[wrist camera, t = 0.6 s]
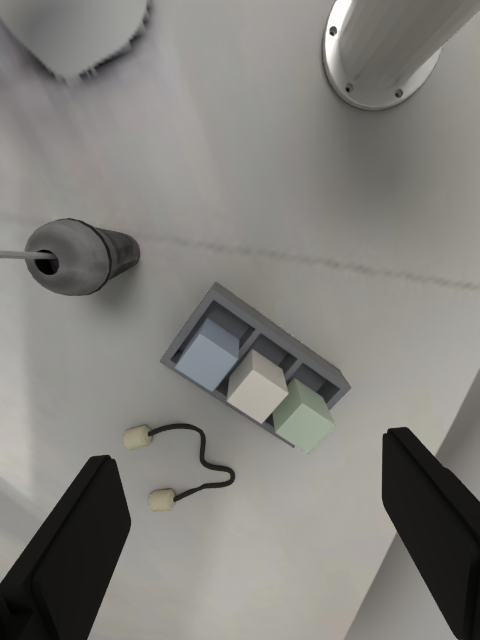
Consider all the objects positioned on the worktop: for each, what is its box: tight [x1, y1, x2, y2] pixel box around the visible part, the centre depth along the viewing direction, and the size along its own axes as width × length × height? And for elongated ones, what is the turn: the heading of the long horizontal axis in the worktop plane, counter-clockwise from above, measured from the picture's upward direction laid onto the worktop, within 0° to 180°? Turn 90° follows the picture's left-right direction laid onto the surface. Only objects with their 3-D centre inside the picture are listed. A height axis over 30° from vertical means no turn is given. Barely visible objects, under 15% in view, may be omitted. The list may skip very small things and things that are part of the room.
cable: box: [122, 424, 235, 511], centre depth 47 cm, size 16×16×4 cm
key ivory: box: [227, 349, 289, 424], centre depth 35 cm, size 5×5×6 cm
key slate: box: [175, 318, 239, 392], centre depth 34 cm, size 5×5×6 cm
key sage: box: [272, 378, 336, 454], centre depth 37 cm, size 5×5×6 cm
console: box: [160, 282, 351, 448], centre depth 40 cm, size 12×22×5 cm, turn 54°
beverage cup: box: [0, 218, 140, 296], centre depth 29 cm, size 7×7×20 cm
